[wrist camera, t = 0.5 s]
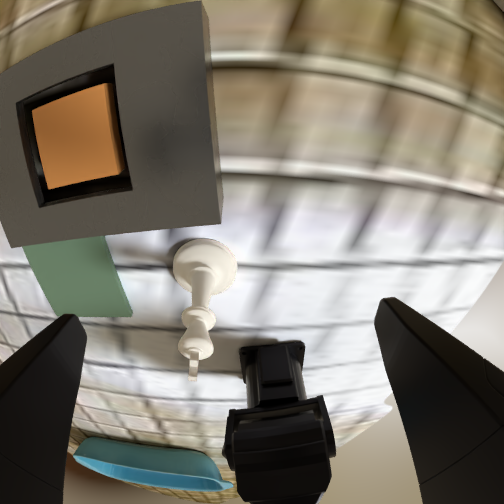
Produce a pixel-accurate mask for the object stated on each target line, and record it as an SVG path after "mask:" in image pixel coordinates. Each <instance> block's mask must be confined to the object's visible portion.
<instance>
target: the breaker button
mask: <svg viewBox="0 0 504 504" xmlns="http://www.w3.org/2000/svg"><path fill="white" fill-rule="evenodd" d="M32 115H33V121H34V127H35V133H36V138H37V143H38V148H39V153H40V157H41V162H42V166H43V170H44V174H45V178H46V182H47V185H48V189H53V188H57V187H61V186H65V185H70V184H74V183H78V182H83V181H87V180H92V179H97V178H102V177H107V176H112V175H118V174H119V173H121V172H122V171H123V170H124V169H125V163H124V157H123V152H122V146H121V141H120V135H119V128H118V122H117V115H116V108H115V100H114V91H113V83H105V84H101V85H97V86H94V87H91V88H88V89H85V90H82V91H79V92H76V93H74V94H71V95H68V96H65V97H63V98H60V99H58V100H55V101H53V102H50V103H48V104H46V105H43V106H41V107H39V108H36V109H34V110H32Z"/></svg>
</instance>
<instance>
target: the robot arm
mask: <svg viewBox="0 0 504 504" xmlns="http://www.w3.org/2000/svg"><path fill="white" fill-rule="evenodd" d="M374 325H375V330H376V334H377V338H378V341H379V345H380V349H381V354H382V358H383V362H384V366H385V370H386V373H387V376H388V379H389V382H390V385H391V388H392V391H393V394H394V397H395V400H396V403H397V405H398V409H399V412H400V416H401V419H402V422H403V425H404V429H405V432H406V435H407V439H408V443H409V446H410V450H411V454H412V458H413V462H414V466H415V469H416V474H417V477H418V482H419V484H420V485H419V487H420V492H421V497H422V501H423V504H504V372H503V371H502V370H500V369H499V368H497V367H496V366H495V365H493V364H492V363H490V362H489V361H488V360H486V359H483V357H482V356H481V355H479V354H478V353H476V352H475V351H474V350H472V349H470V348H469V347H468V346H467V345H465V344H464V343H462V342H461V341H459V340H458V339H456V338H455V337H453V336H452V335H451V334H449V333H448V332H446V331H445V330H443V329H442V328H441V327H439V326H438V325H436V324H435V323H433V322H432V321H430V320H429V319H427V318H426V317H424V316H423V315H421V314H420V313H418V312H417V311H415V310H414V309H412V308H411V307H409V306H408V305H406V304H405V303H403V302H402V301H400V300H398V299H397V298H395V297H389V298H383V299H381V301H380V303H379V306H378V310H377V313H376V316H375V320H374ZM86 342H87V335H86V332H85V330H84V328H83V326H82V324H81V322H80V320H79V318H78V317H77V316H76V315H75V314H68V313H66V314H63V315H62V316H60V317H59V318H58V319H56V320H55V321H54V322H52V323H51V324H50V325H49V326H47V327H46V328H45V329H43V330H42V331H41V332H40V333H38V334H37V335H36V336H35V337H33V338H32V339H31V340H30V341H28V342H27V343H26V344H25V345H24V346H22V347H21V348H20V349H19V350H17V351H16V352H15V353H14V354H13V355H11V356H10V357H9V358H8V359H7V360H6V361H4V362H3V363H2V364H1V365H0V504H63V488H64V476H65V466H66V457H67V450H68V443H69V436H70V430H71V424H72V418H73V413H74V408H75V403H76V398H77V394H78V389H79V385H80V379H81V373H82V366H83V360H84V354H85V348H86ZM304 353H305V344H304V343H303V342H296V343H287V344H277V345H266V346H254V347H243V348H240V349H239V355H240V362H241V368H242V375H243V381H244V383H245V384H246V388H247V406H248V408H247V409H238V410H236V409H230V410H229V417H227V425H226V434H225V442H224V446H223V449H222V455H223V456H224V457H225V458H226V459H227V461H228V465H229V467H230V469H231V471H235V475H236V482H237V492H238V494H239V495H240V497H241V498H242V499H243V501H245V502H250V503H251V504H318V503H319V501H320V500H321V498H322V496H323V494H324V492H326V490H327V488H328V485H329V483H330V480H331V477H332V474H331V467H330V460H329V458H332V457H335V456H336V446H335V439H334V434H333V429H332V425H331V422H330V418H329V415H328V412H327V408H326V405H325V402H324V398H323V395H320V396H317V397H315V398H310V399H307V397H306V391H305V386H304V381H303V376H302V368H303V361H304Z"/></svg>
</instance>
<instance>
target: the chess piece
mask: <svg viewBox="0 0 504 504" xmlns="http://www.w3.org/2000/svg"><path fill="white" fill-rule="evenodd" d="M173 273H174V276H175V278H176V280H177V282H178V283H179V284H180V285H181V286H182V287H183V288H184V289H185V290H187V291H189V292H191V293H192V306H191V307H188V308H186V309H185V310H184V311H183V313H182V322H183V324H184V325H185V326H186V327H187V329H186V331H185V333H184V335H183V336H182V337H181V339H180V341H179V343H178V350H179V352H180V353H181V354H182V355H183V356H185V357H187V358H189V359H190V366H189V376H188V380H189V381H197V371H198V361H199V360H203V359H206V358H208V357H210V356H211V355H212V353H213V344H212V341H211V339H210V337H209V333H208V330H210V329H211V328H213V326H214V324H215V322H216V316H215V314H214V313H213V312H212V311H211V310H210V309H208V306H209V302H210V298H211V295H216V294H219V293H222V292H224V291H225V290H227V289H228V288H229V287H230V286H231V285H232V283H233V282H234V280H235V277H236V273H237V261H236V258H235V256H234V254H233V253H232V251H231V250H230V249H229V248H228V247H226V246H225V245H224V244H222V243H220V242H218V241H215V240H211V239H196V240H192V241H189V242H187V243H185V244H184V245H183V246H181V247H180V248H179V249H178V251H177V252H176V254H175V256H174V260H173Z"/></svg>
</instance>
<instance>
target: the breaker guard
mask: <svg viewBox="0 0 504 504" xmlns="http://www.w3.org/2000/svg"><path fill="white" fill-rule="evenodd" d="M110 66H114V70H115V80H116V90H117V98H118V106H119V114H120V121H121V127H122V134H123V140H124V146H125V151H126V157H127V162H128V167H129V172H130V177H131V182H132V186H130V187H124V188H118V189H112V190H106V191H101V192H95V193H90V194H85V195H80V196H75V197H70V198H65V199H61V200H56V201H52V202H47V203H45V201H44V197H43V194H42V191H41V187H40V183H39V180H38V176H37V172H36V168H35V164H34V160H33V155H32V151H31V146H30V141H29V136H28V130H27V124H26V118H25V111H24V104H23V101H24V100H26V99H28V98H30V97H33V96H35V95H37V94H39V93H41V92H43V91H45V90H48V89H50V88H52V87H55V86H57V85H59V84H62V83H64V82H67V81H69V80H72V79H75V78H77V77H80V76H83V75H86V74H89V73H92V72H95V71H98V70H101V69H104V68H107V67H110ZM222 208H223V187H222V178H221V167H220V157H219V147H218V136H217V125H216V113H215V101H214V89H213V76H212V63H211V49H210V34H209V19H208V16H207V13H206V11H205V8H204V6H203V3H202V1H194V2H187V3H181V4H176V5H170V6H165V7H161V8H156V9H152V10H147V11H143V12H139V13H136V14H132V15H128V16H125V17H122V18H118V19H115V20H112V21H109V22H106V23H103V24H100V25H97V26H95V27H92V28H89V29H87V30H84V31H82V32H79V33H77V34H74V35H72V36H70V37H67V38H65V39H63V40H61V41H58V42H56V43H54V44H52V45H50V46H48V47H46V48H44V49H42V50H40V51H38V52H36V53H34V54H33V55H31V56H29V57H27V58H25V59H24V60H22V61H20V62H19V63H17V64H15V65H14V66H12V67H10V68H9V69H7V70H5V71H4V72H2V73H1V74H0V221H1V224H2V226H3V229H4V232H5V234H6V237H7V239H8V242H9V244H10V246H11V248H15V247H22V246H29V245H36V244H43V243H50V242H58V241H65V240H73V239H81V238H89V237H97V236H106V235H115V234H123V233H133V232H142V231H151V230H161V229H172V228H182V227H193V226H204V225H216V224H221V219H222Z"/></svg>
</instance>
